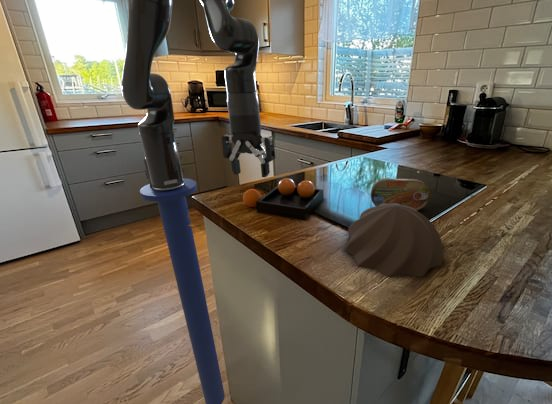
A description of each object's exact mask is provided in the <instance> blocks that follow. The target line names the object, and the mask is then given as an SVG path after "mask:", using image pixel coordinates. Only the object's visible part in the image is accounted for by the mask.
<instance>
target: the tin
mask: <svg viewBox="0 0 552 404" xmlns="http://www.w3.org/2000/svg"><path fill="white" fill-rule="evenodd" d="M370 199H371V202H372V204H373V206H374V207H376V206H379V205H380V204H384V203H388V204H393V203H397V204H400V205H406V206H410V207H412V208H413V209H415V210H416V211H417V212H418V211H420V210H422V209H424V208H425V207H426V206H427V205H428V203H429V202H430V199H431V191H430V188H429V187H428V185H427V184H425V182H423V181H422V180H420V179H417V178H391V177H390V178H388V177H387V178H386V177H385V178H381V179H379V180H377V181H376V182H374V184H373V185H372V187H371V190H370Z"/></svg>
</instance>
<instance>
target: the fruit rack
mask: <svg viewBox="0 0 552 404" xmlns="http://www.w3.org/2000/svg"><path fill="white" fill-rule="evenodd" d="M323 201H324V189H319V188H316V186H315V184H314V183H313V182H312V181H310V180H307V179H306V180H302V181H300V182H299V183H298V184H297V185H296V183H295V181H294V180H293V179H292V178H290V177H285V178H281V180H279V182H278V184H277V186H275V187H274V188H273V189H271V190H270V191H269V192H267V193H266V194H264V195H262V196H261V198H260V199H259V200H258V201H256V207H255V208H256V213H260V214H266V215H272V216H278V217H284V218H290V219H297V220H302V221H306V220H307V219H308V218H309V217H310V216H311V214H313V212H314V211H315V210H316V209H317V208H318V206H319V205H320V204H321V203H322V202H323Z"/></svg>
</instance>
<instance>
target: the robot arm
mask: <svg viewBox="0 0 552 404" xmlns="http://www.w3.org/2000/svg"><path fill="white" fill-rule="evenodd" d="M127 2H128V6H127V7H128V9H127V10H128V11H127V13H128V14H127V15H128V17H127V19H128V20H127V36H126V48H125V57H124V63H123V69H122V77H121V93H122V98H123V99H124V102H125V103H126V104H127V105H128V106H129V108H131V109H133V110H137V111H138V110H139V111H143V110H147V112H146V116H145V117H144V118H143V119H142V120H141V121H140V122H139V123H138V124H137V129H138V133H139V138H140V141H141V146H142V149H143V153H144V158H143V164H144V168H145V175H146V179H147V180H148V184H150V188H152V189H153V190H154V191H158V192H166V191H173V190H177V189H179V188H182V187H183V186H184V185H185V183H184V180H183V178H184V176H183V169H182V165H181V159H180V154H179V150H178V149H179V148H178V145H177V140H176V134H175V129H174V124H175V112H174V106H173V98H172V92H171V89H170V86H169V84H168V82H167V80H166V79H165V78H164V77H163V76H162V75H160V74H158V73H152V72H151V71H152V64H153V60H154V57H155V56H156V53H157V52H158V50H159V49H160V47H161V45H162V44H163V42H164V40H165V39H166V37H167V35H168V34H169V32H170V28H171V23H172V15H173V6H174V5H173V3H174V0H128V1H127ZM199 2H200V3H201V5H202V7H203V10H204V16H205V19H206V20H205V21H206V24H207V27H208V31H209V32H208V33H209V35H210V37H211V40H212V41H213V44H214V45H215V46H216V47H217V48H218V49H219V50H220V51H222V52H224V53H229V54H235V56H234V60H233V61H234V62H233V64H230V65H228V66H226V67H225V69H224V81H225V89H226V105H227V111H228V120H229V127H230V128H229V130H230V132H231V133H228V134H224V135H221V145H222V156H223V158H224V159H228V160H229V161H230V165H231V171H232V173H233V175H237V176H238V175H239V174H241V171H242V169H241V163H240V159H239V158H240V155H241V154H249V155H252V154H253V155H254V157H255V158H257V159H258V161H259V162H260V170H261V171H260V172H261V178H267V177H268V176H269V175H270V173H271V171H270V162H273V161H274V160H275V159H276V158H277V157H276V149H275V141H274V137H273V136H272V135H270V136H267V137H265V136H263V135H262V124H261V122H262V121H261V113H260V111H261V110H260V101H259V97H258V92H257V90H258V89H257V80H256V79H257V78H256V69H257V65H258V58H259V57H258V56H259V50H260V49H259V48H260V39H259V33H258V30H257V28H256V26H255V24H254V23H253V22H252V21H250V20H249V19H246V18H242V17H236V16H232V14H231V12H232V10H233V9H234V7H235V0H199ZM233 144H234V147H233ZM262 145H263V146H264V147H263V146H262Z"/></svg>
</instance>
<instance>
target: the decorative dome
mask: <svg viewBox="0 0 552 404" xmlns="http://www.w3.org/2000/svg"><path fill="white" fill-rule="evenodd" d="M347 233H348V236H349V240H348V242H347V243H346V245H345V247H344V250H345V252H347V254H350V255H351V256H352V257H354V260H355V263H356V266H357V267H360V268H365V269H369V270H374V271H376V272H378V273H380V274H381V275H382V276H385V277H387V278H395V277H399V276H413V277H420V278H422V277H424V276H426V274H427V272H428V271H429V270H430V269H432V268H435V267H438V266H442V264H443V257H444V246H443V241H442V238H441V236H440V234H439V232H438V229H437V228H436V227H435V225H434V224H433V223H432V222H431V221H430V220H429V219H428V217H426V216H425V215H424V214H422V212H419V211H418V210H417V211H416V210H415V209H413V208H412V207H410V206H406V205H400V204H397V203H393V204H388V203H384V204H380V205H379V206H372V207H369V208H366V209H365V210H363V211H362V212H361V213H360V215H359V217H358V219H357V220H355V221H353V222H352V223H351V224H350V225H349V226H348V228H347Z"/></svg>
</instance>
